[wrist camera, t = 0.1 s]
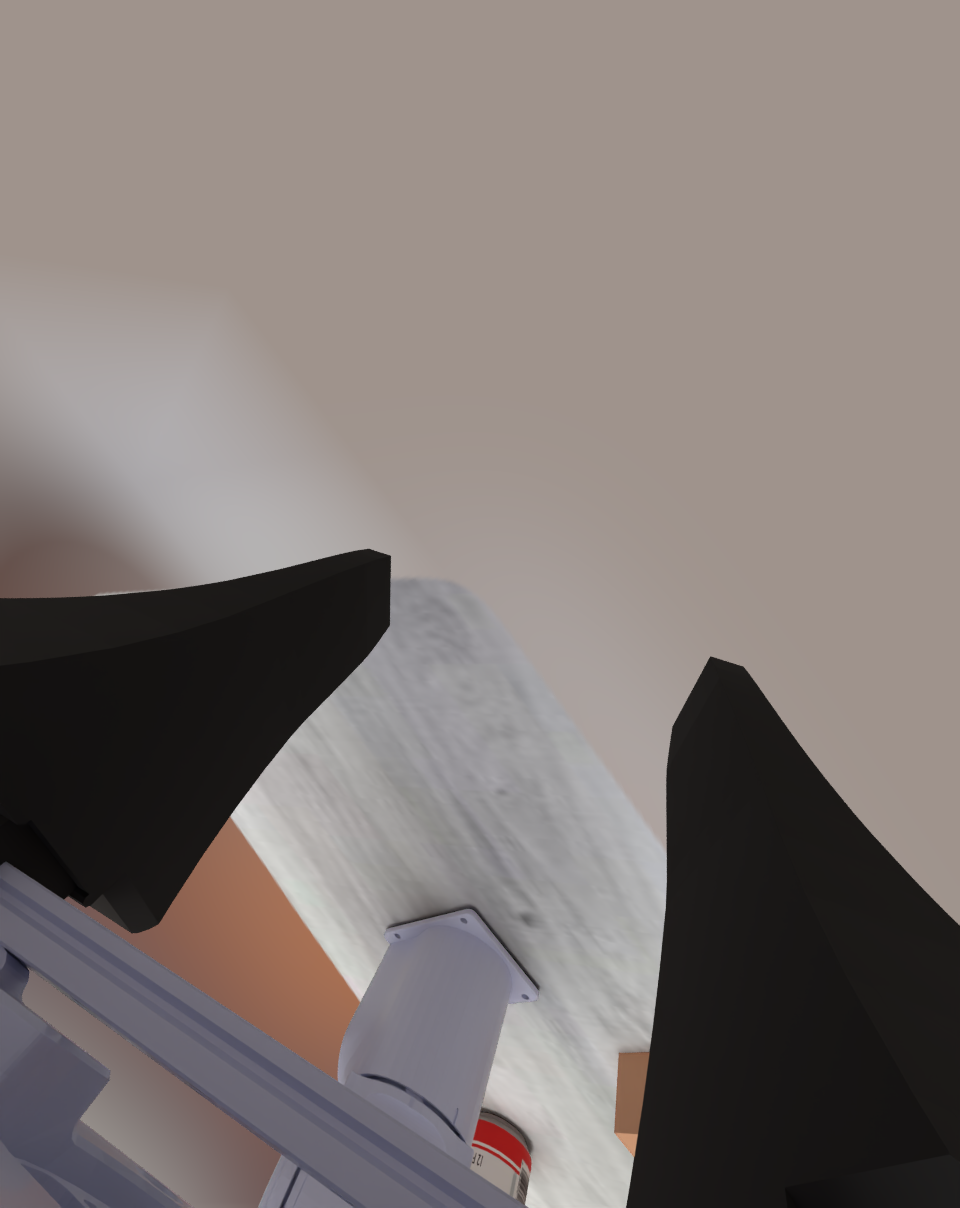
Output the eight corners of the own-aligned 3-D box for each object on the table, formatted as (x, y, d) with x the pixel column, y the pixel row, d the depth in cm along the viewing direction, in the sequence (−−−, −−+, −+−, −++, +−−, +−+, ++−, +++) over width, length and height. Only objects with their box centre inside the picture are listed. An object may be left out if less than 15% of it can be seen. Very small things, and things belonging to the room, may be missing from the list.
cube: (652, 1094, 31) (652, 1179, 27) (618, 1051, 30) (614, 1132, 27) (709, 1095, 29) (716, 1187, 25) (673, 1050, 28) (676, 1136, 25)
